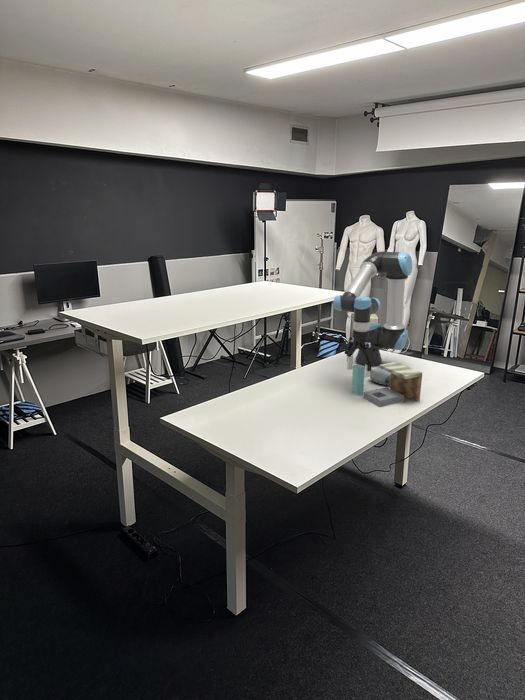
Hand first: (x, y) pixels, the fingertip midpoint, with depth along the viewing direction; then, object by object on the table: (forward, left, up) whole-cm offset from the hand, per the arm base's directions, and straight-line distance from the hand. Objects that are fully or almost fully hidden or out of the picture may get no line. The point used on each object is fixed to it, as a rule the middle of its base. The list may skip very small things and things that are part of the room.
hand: (358, 373), depth 227 cm
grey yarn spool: (-6, +20, -11) cm, 24 cm away
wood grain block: (+12, +15, -11) cm, 22 cm away
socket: (+12, +6, -11) cm, 17 cm away
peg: (0, 0, -11) cm, 11 cm away
